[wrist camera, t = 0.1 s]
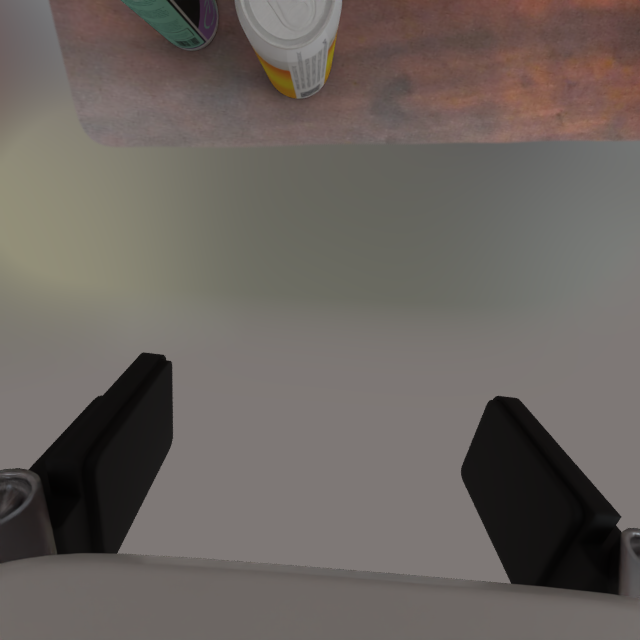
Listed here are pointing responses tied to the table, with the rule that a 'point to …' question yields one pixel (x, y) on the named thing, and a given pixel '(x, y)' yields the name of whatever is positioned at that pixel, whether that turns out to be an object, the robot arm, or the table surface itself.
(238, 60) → the table surface
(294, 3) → the beer can
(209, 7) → the spray can
